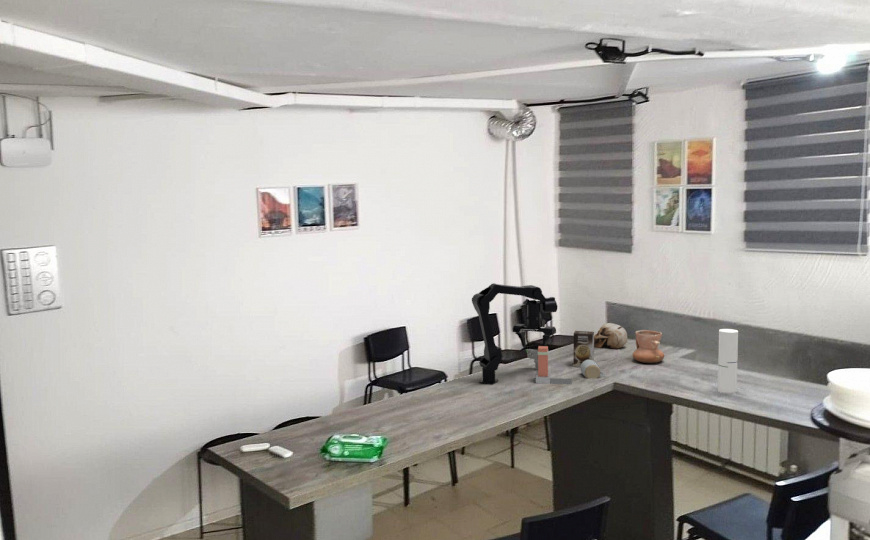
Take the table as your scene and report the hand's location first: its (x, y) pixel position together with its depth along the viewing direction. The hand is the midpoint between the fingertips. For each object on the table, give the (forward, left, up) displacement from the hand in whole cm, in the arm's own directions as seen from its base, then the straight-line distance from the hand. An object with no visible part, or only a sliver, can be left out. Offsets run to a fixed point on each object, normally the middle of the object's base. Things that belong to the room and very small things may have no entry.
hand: (534, 348), depth 316 cm
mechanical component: (+8, +2, -13) cm, 16 cm away
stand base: (-7, -11, -13) cm, 19 cm away
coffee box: (+27, -14, -13) cm, 33 cm away
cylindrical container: (+12, -79, -13) cm, 81 cm away
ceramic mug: (+8, -24, -13) cm, 29 cm away
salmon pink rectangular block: (-9, -7, -9) cm, 14 cm away
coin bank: (+69, -14, -13) cm, 72 cm away
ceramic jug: (+47, -39, -13) cm, 62 cm away
